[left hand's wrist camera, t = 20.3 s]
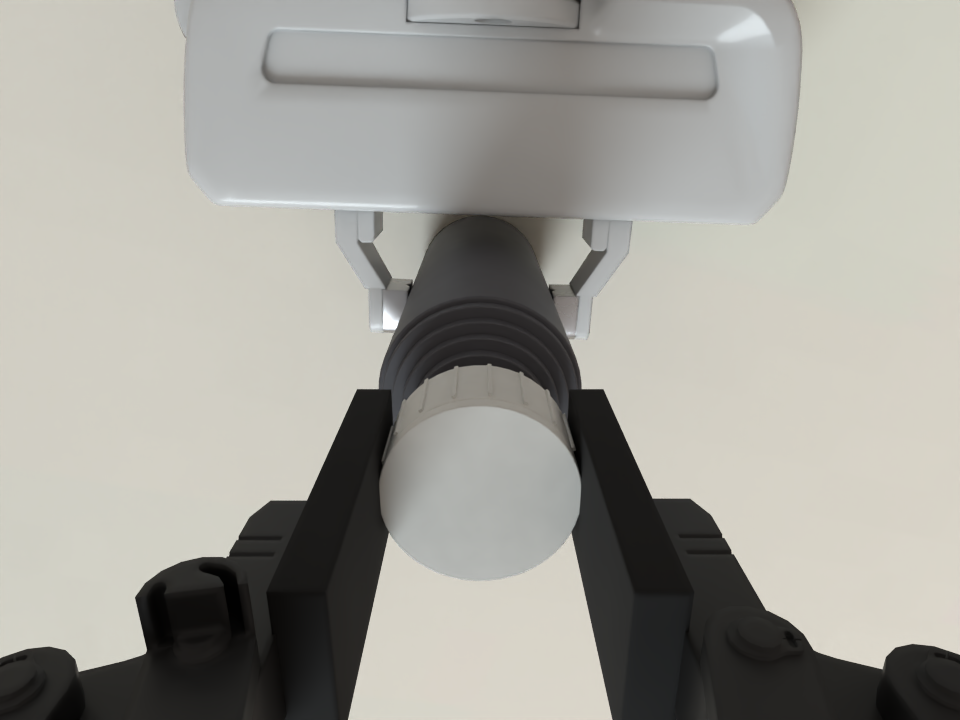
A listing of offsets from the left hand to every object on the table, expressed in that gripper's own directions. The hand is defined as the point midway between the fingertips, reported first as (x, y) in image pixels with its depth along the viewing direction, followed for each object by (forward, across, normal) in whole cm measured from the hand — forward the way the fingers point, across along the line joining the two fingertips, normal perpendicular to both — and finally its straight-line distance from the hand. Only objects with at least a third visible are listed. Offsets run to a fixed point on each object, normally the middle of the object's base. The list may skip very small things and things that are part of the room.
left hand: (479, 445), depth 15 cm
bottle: (+17, 0, 0) cm, 17 cm away
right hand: (+11, 0, -1) cm, 11 cm away
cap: (-2, 0, 0) cm, 2 cm away
